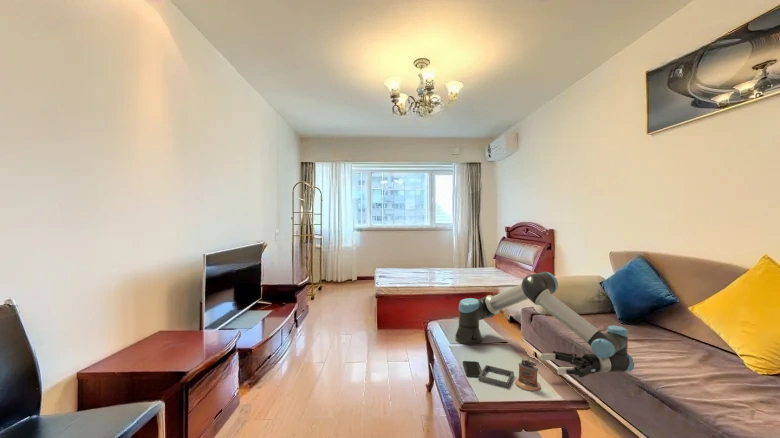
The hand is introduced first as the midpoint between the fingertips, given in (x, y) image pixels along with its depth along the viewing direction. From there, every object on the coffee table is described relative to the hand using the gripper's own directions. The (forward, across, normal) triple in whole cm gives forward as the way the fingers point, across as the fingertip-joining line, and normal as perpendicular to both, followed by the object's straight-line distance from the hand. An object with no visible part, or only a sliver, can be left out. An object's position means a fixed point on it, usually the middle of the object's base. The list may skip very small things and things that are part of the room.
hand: (549, 363), depth 145 cm
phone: (+29, +15, -10) cm, 34 cm away
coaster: (+9, 0, -9) cm, 13 cm away
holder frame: (+21, +7, -9) cm, 23 cm away
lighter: (+9, 0, -8) cm, 13 cm away
